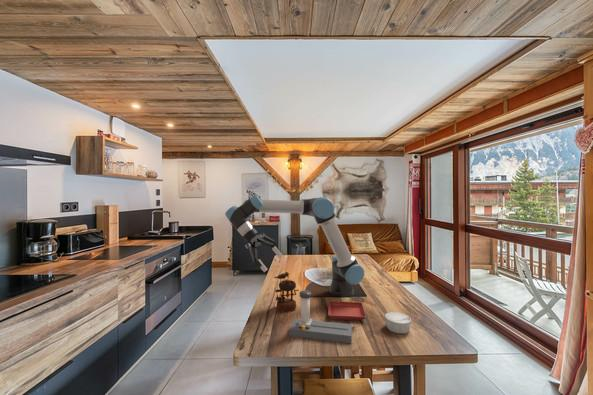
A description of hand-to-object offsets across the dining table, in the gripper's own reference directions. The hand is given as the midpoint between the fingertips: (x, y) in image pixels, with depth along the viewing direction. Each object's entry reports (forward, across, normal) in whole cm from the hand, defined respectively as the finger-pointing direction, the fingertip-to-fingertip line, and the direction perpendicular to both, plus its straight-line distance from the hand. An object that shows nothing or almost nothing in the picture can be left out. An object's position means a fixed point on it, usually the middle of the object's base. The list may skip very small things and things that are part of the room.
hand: (274, 263), depth 131 cm
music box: (+24, -1, -16) cm, 28 cm away
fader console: (+36, +13, +10) cm, 39 cm away
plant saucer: (+44, -10, +6) cm, 46 cm away
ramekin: (+58, -8, +27) cm, 65 cm away
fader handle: (+29, +14, +7) cm, 33 cm away
